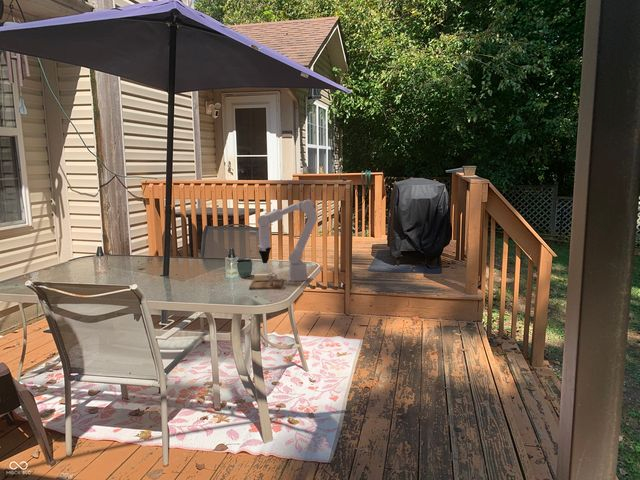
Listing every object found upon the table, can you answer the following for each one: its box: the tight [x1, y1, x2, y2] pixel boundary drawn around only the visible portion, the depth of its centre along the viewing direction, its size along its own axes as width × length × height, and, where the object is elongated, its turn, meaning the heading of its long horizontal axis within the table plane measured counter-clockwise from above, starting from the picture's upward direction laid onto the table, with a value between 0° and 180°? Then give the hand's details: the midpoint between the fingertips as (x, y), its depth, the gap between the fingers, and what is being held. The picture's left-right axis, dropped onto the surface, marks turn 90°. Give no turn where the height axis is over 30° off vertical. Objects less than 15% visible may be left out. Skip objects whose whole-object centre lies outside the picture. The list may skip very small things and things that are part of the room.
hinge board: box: [248, 273, 284, 290], centre depth 260 cm, size 16×18×6 cm
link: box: [253, 272, 278, 281], centre depth 266 cm, size 12×4×4 cm, turn 90°
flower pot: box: [235, 258, 253, 278], centre depth 282 cm, size 9×9×9 cm
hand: (265, 261), depth 271 cm, fingers open, 7 cm apart
